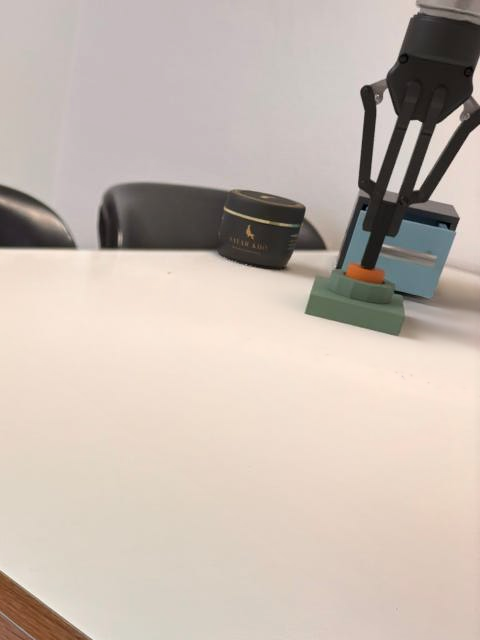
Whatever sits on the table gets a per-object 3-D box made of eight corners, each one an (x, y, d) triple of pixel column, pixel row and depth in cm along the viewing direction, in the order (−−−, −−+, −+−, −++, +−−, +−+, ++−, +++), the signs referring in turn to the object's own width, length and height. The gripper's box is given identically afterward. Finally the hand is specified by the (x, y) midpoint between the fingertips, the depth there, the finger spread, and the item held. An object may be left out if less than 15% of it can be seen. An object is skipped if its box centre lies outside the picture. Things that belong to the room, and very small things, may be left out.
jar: (204, 255, 134) (221, 191, 131) (221, 246, 143) (237, 185, 139) (282, 275, 132) (301, 210, 128) (294, 264, 140) (312, 203, 136)
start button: (380, 291, 115) (386, 274, 114) (343, 282, 116) (348, 266, 115) (380, 285, 119) (385, 268, 118) (344, 276, 119) (349, 260, 118)
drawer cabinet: (431, 295, 138) (460, 218, 133) (334, 272, 140) (359, 195, 135) (426, 277, 150) (453, 205, 145) (337, 256, 152) (360, 184, 147)
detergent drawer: (434, 308, 126) (460, 239, 122) (337, 285, 128) (360, 217, 124) (427, 280, 142) (449, 219, 138) (342, 260, 144) (362, 199, 140)
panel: (397, 336, 113) (411, 298, 111) (304, 314, 115) (316, 276, 113) (395, 314, 123) (408, 279, 121) (310, 294, 125) (321, 259, 123)
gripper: (384, 3, 102) (306, 256, 114) (524, 30, 100) (429, 285, 112) (384, 7, 108) (310, 246, 121) (515, 32, 106) (426, 274, 118)
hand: (367, 265), depth 116 cm, fingers closed
